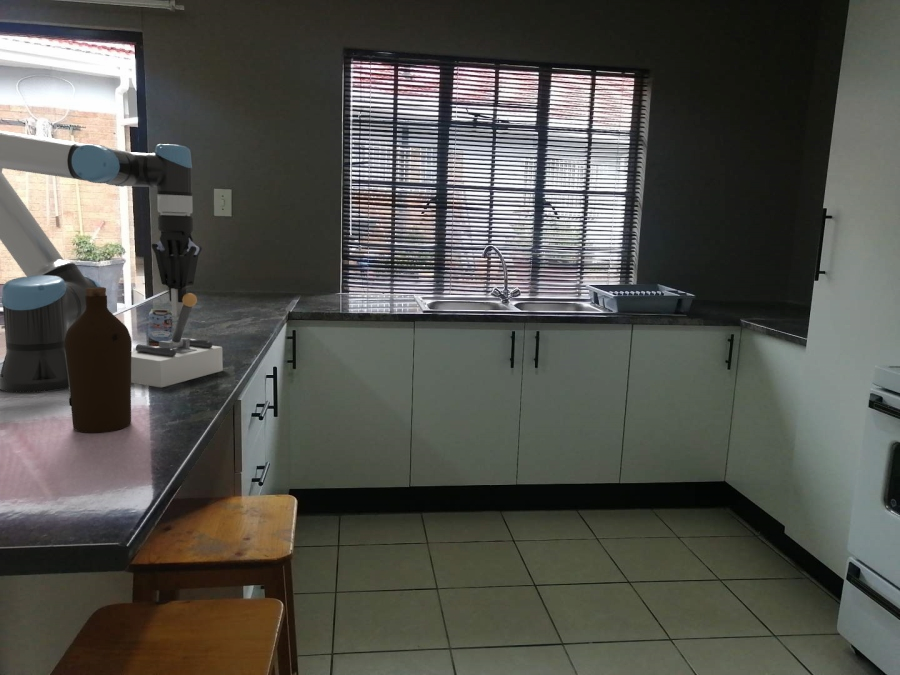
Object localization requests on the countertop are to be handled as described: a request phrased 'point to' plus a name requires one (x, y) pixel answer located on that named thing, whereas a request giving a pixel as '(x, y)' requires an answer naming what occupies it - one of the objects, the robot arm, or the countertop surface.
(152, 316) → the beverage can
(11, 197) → the robot arm
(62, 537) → the countertop surface
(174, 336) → the lever
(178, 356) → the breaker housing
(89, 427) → the olive oil
